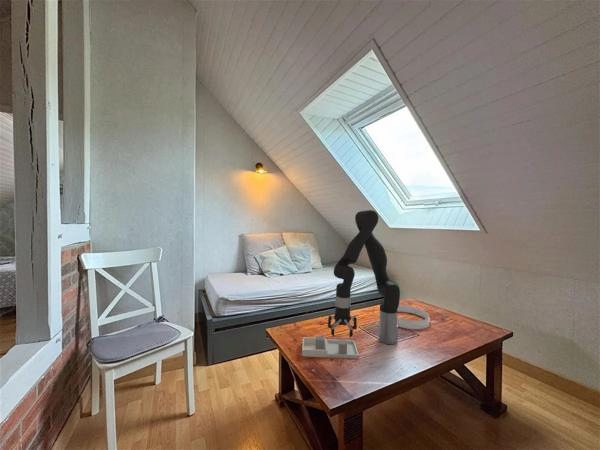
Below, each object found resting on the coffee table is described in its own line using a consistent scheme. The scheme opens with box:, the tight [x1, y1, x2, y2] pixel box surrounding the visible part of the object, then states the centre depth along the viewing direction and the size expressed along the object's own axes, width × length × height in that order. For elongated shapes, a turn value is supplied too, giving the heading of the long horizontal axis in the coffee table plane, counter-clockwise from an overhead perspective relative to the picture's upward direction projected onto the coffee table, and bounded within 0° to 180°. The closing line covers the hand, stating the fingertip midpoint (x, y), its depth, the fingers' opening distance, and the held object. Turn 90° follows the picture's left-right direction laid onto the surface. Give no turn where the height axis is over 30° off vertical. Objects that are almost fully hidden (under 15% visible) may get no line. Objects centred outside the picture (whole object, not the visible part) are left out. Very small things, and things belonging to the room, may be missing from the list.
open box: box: [301, 336, 328, 358], centre depth 130 cm, size 12×12×4 cm
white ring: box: [397, 304, 431, 330], centre depth 168 cm, size 27×27×6 cm
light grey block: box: [337, 339, 347, 354], centre depth 126 cm, size 4×4×6 cm
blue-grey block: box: [315, 335, 324, 350], centre depth 130 cm, size 4×4×6 cm
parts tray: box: [326, 338, 360, 359], centre depth 130 cm, size 15×14×2 cm
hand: (341, 336), depth 126 cm, fingers open, 8 cm apart
